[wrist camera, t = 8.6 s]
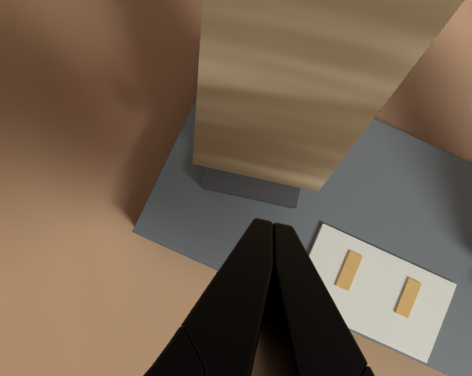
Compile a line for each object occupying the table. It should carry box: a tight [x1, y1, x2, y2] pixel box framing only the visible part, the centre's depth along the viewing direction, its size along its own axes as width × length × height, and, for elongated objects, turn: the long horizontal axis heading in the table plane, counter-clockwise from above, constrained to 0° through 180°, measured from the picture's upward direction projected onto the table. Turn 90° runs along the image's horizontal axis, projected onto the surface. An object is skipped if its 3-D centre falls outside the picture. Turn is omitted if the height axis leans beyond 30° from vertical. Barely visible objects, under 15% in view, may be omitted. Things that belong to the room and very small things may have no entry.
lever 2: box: [193, 0, 464, 192], centre depth 11 cm, size 2×5×11 cm, turn 77°
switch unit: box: [132, 97, 472, 376], centre depth 18 cm, size 9×21×2 cm, turn 66°
